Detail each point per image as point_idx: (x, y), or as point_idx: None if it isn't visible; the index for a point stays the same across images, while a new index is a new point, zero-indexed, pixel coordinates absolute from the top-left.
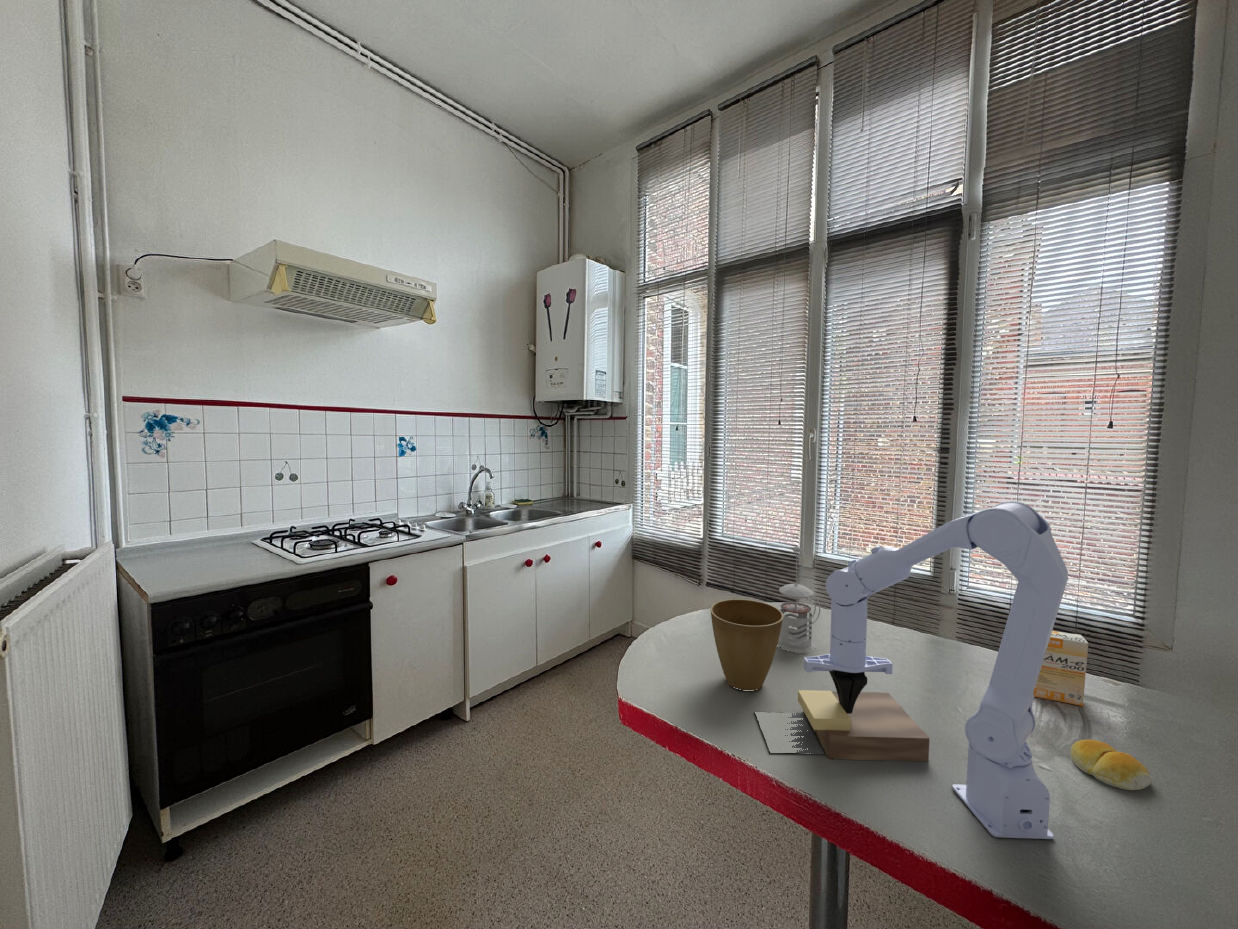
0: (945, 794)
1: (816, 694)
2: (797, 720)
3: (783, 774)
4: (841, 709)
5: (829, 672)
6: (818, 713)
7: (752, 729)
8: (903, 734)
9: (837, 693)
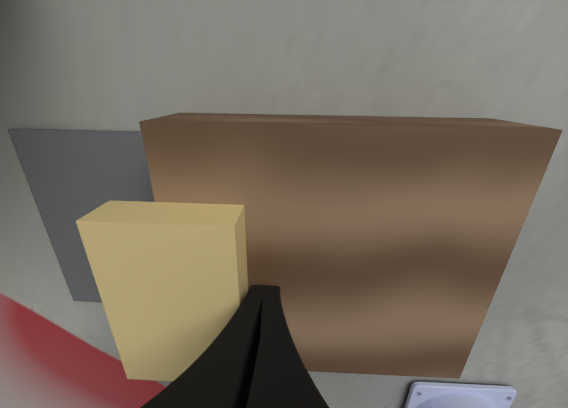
0: (388, 387)
1: (158, 254)
2: (150, 181)
3: (107, 345)
4: None
5: (148, 403)
6: (145, 359)
7: (24, 212)
8: (396, 366)
9: (231, 318)
